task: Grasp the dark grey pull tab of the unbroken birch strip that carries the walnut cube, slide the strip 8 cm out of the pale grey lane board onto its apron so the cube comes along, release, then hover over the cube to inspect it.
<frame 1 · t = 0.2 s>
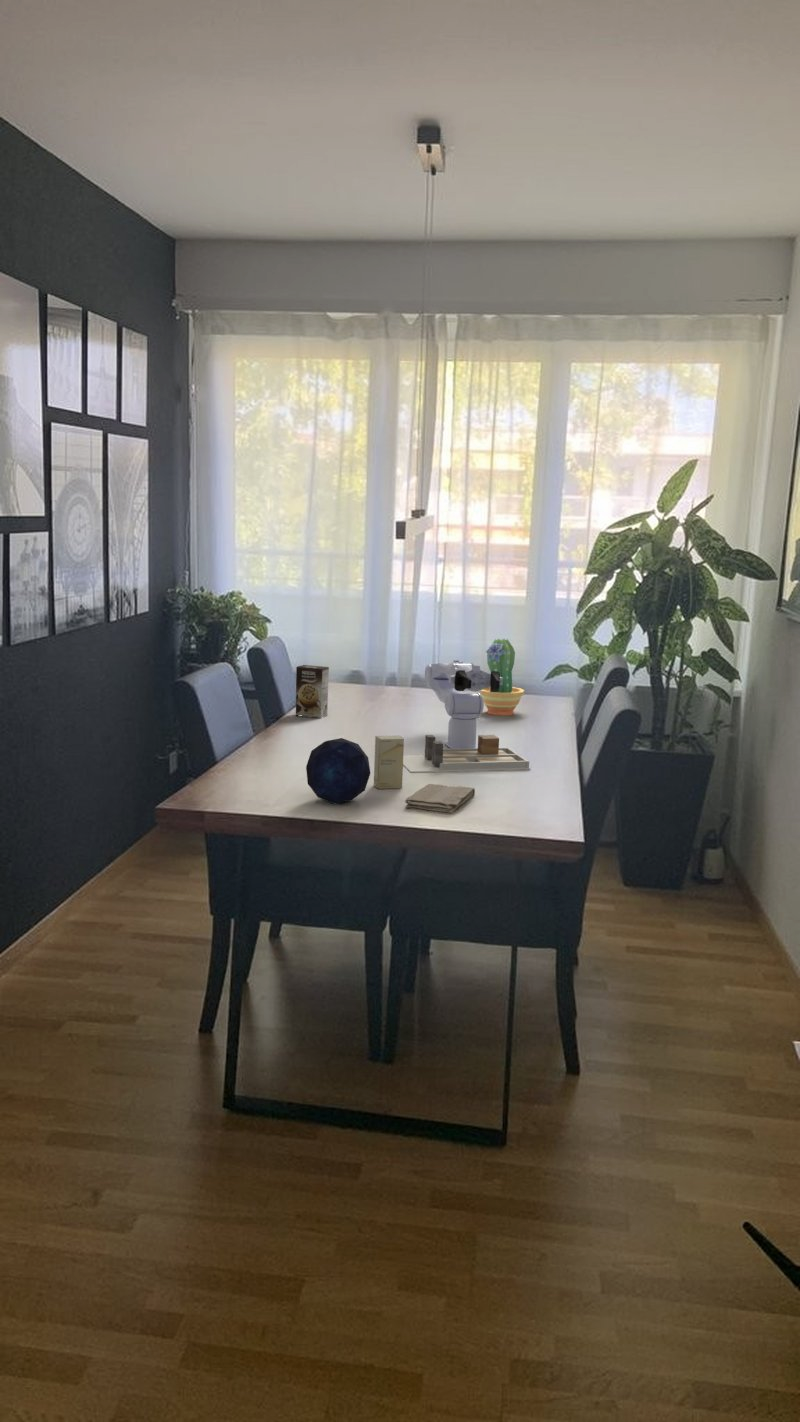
hand: (484, 684, 271), 21 cm above the table, fingers open, 7 cm apart
strip a: (466, 746, 279), point 4 cm above the table, slide at 0.0 cm, touching walnut cube
decorative orb: (337, 801, 235), on the table
coffee box: (311, 716, 335), on the table
walnut cube: (487, 753, 280), point 2 cm above the table, touching strip a
washcloth: (440, 805, 236), on the table
lane board: (474, 762, 276), on the table
potted cactus: (500, 713, 349), on the table
strip b broken: (478, 766, 272), resting on lane board
skincare box: (388, 787, 248), on the table
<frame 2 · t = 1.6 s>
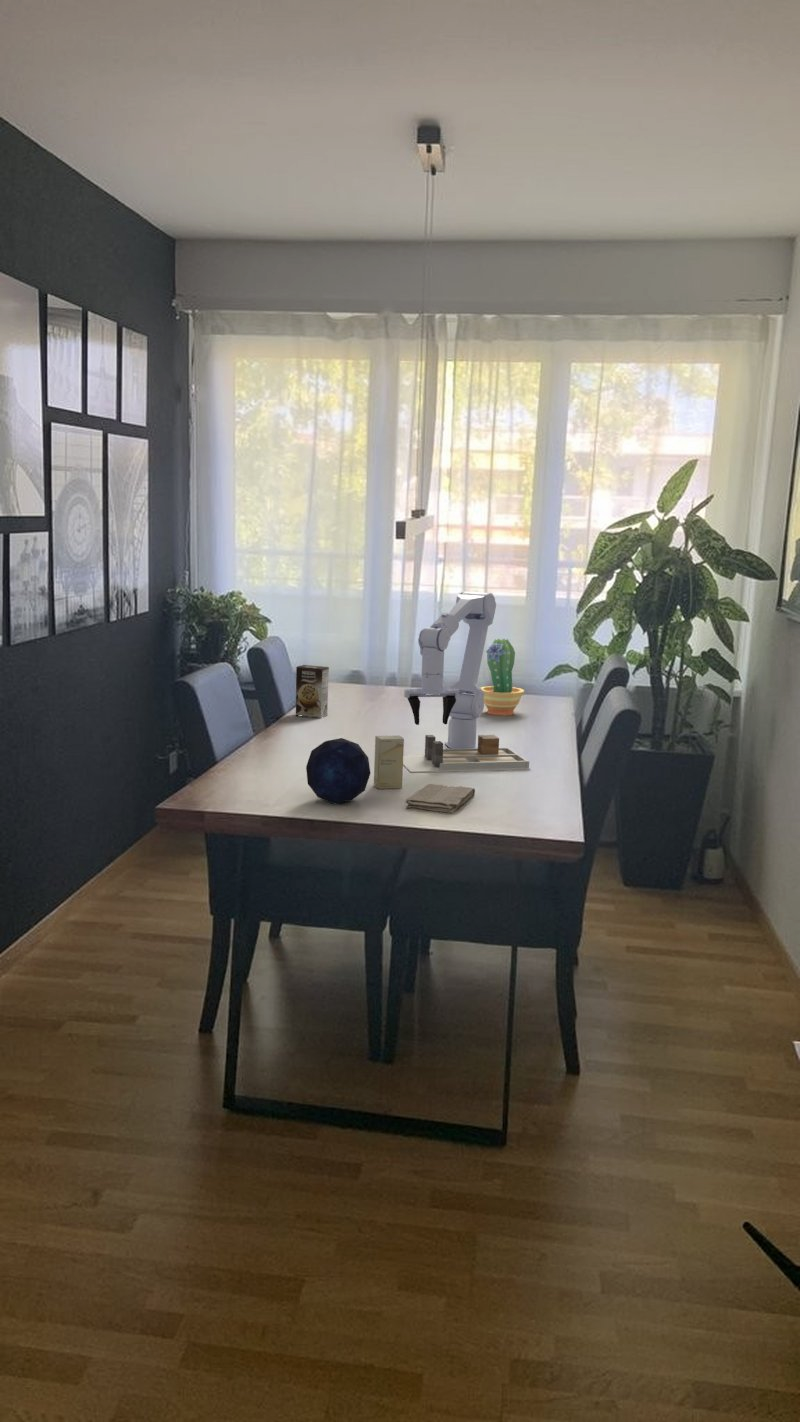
hand: (430, 723, 275), 10 cm above the table, fingers open, 7 cm apart
nothing on the table moved.
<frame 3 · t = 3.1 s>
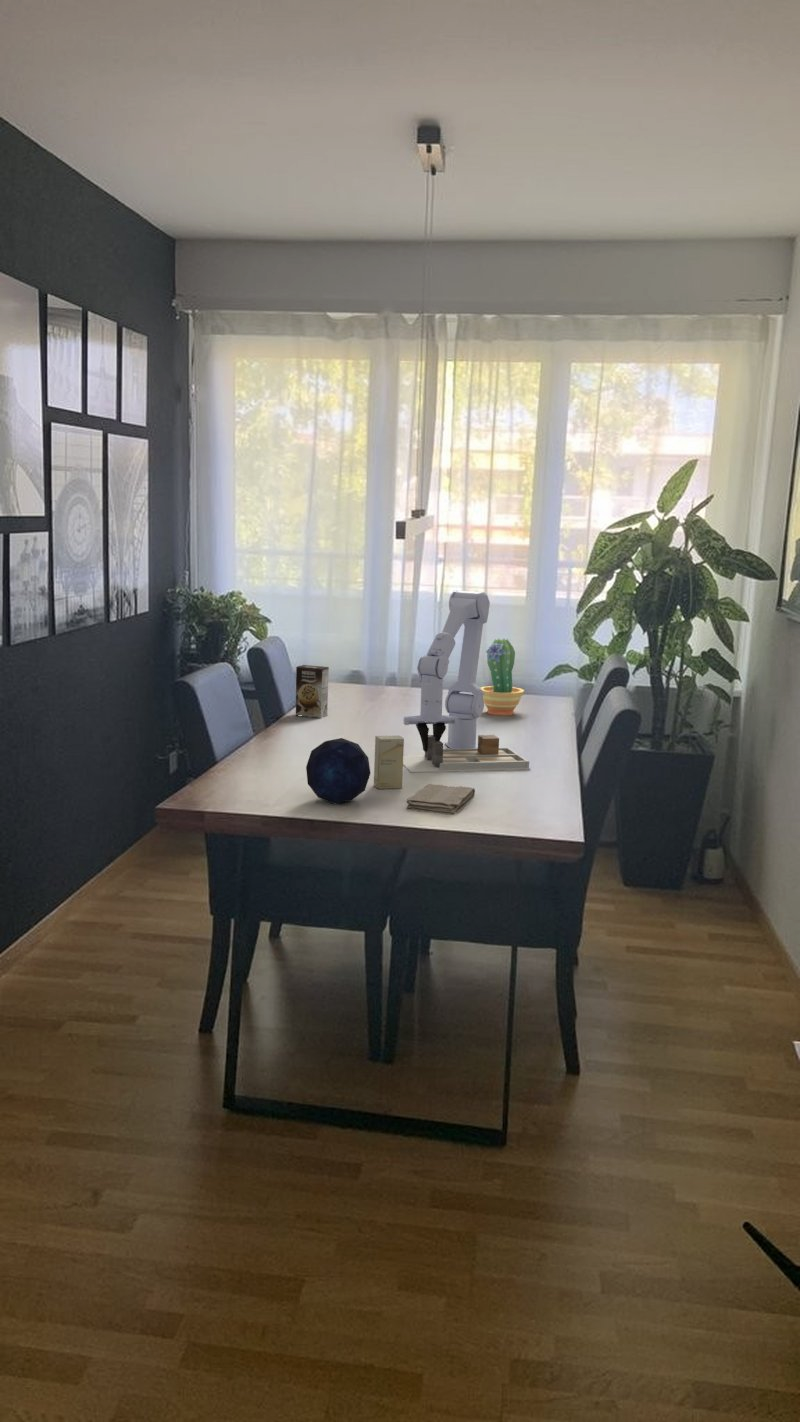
hand: (430, 750, 277), 3 cm above the table, fingers closed on strip a, 2 cm apart
strip a: (466, 746, 279), point 4 cm above the table, slide at 0.0 cm, touching gripper, walnut cube
everything else where it was.
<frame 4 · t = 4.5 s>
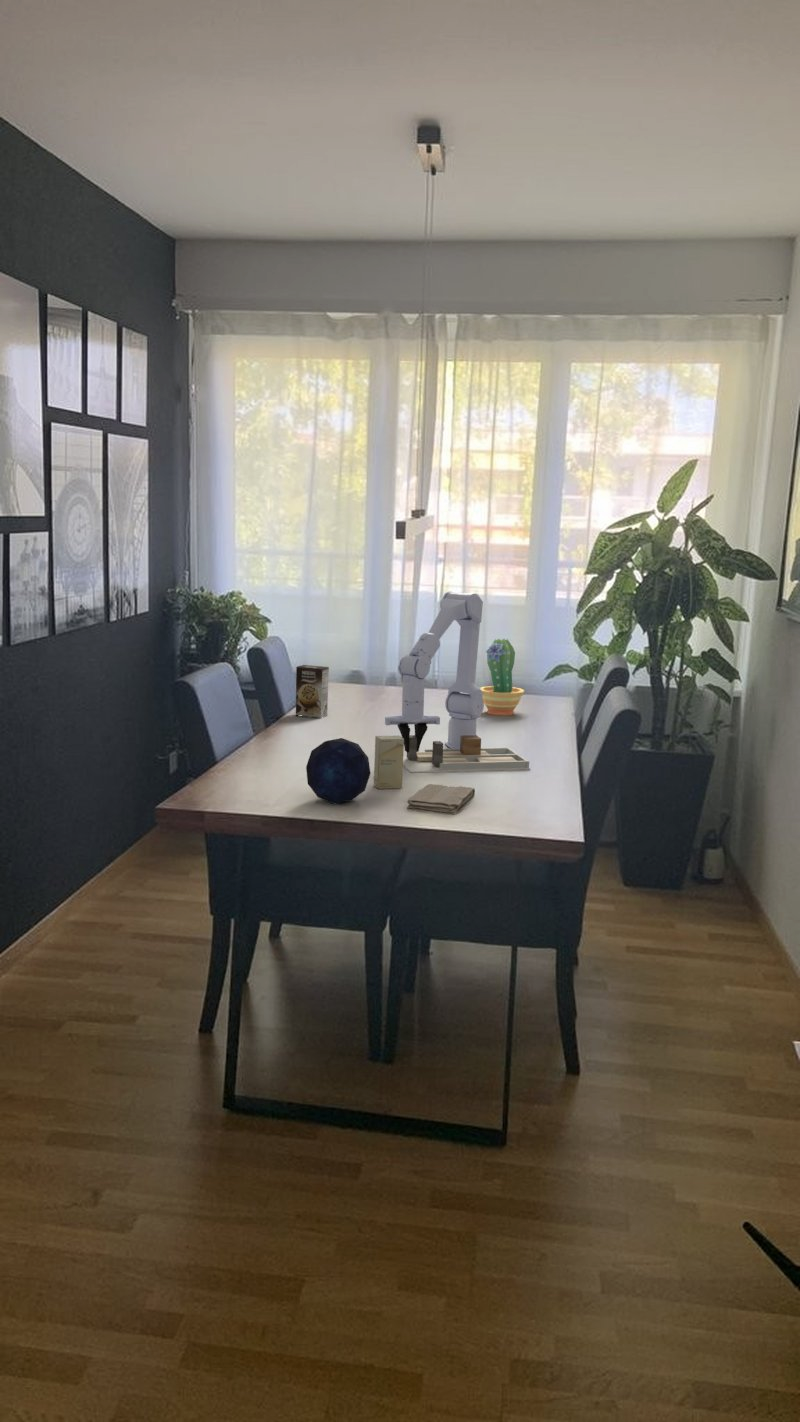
hand: (411, 751, 275), 3 cm above the table, fingers closed on strip a, 2 cm apart
strip a: (448, 746, 278), point 4 cm above the table, slide at 5.0 cm, touching gripper, walnut cube
walnut cube: (470, 753, 279), point 2 cm above the table, touching strip a
everything else where it was.
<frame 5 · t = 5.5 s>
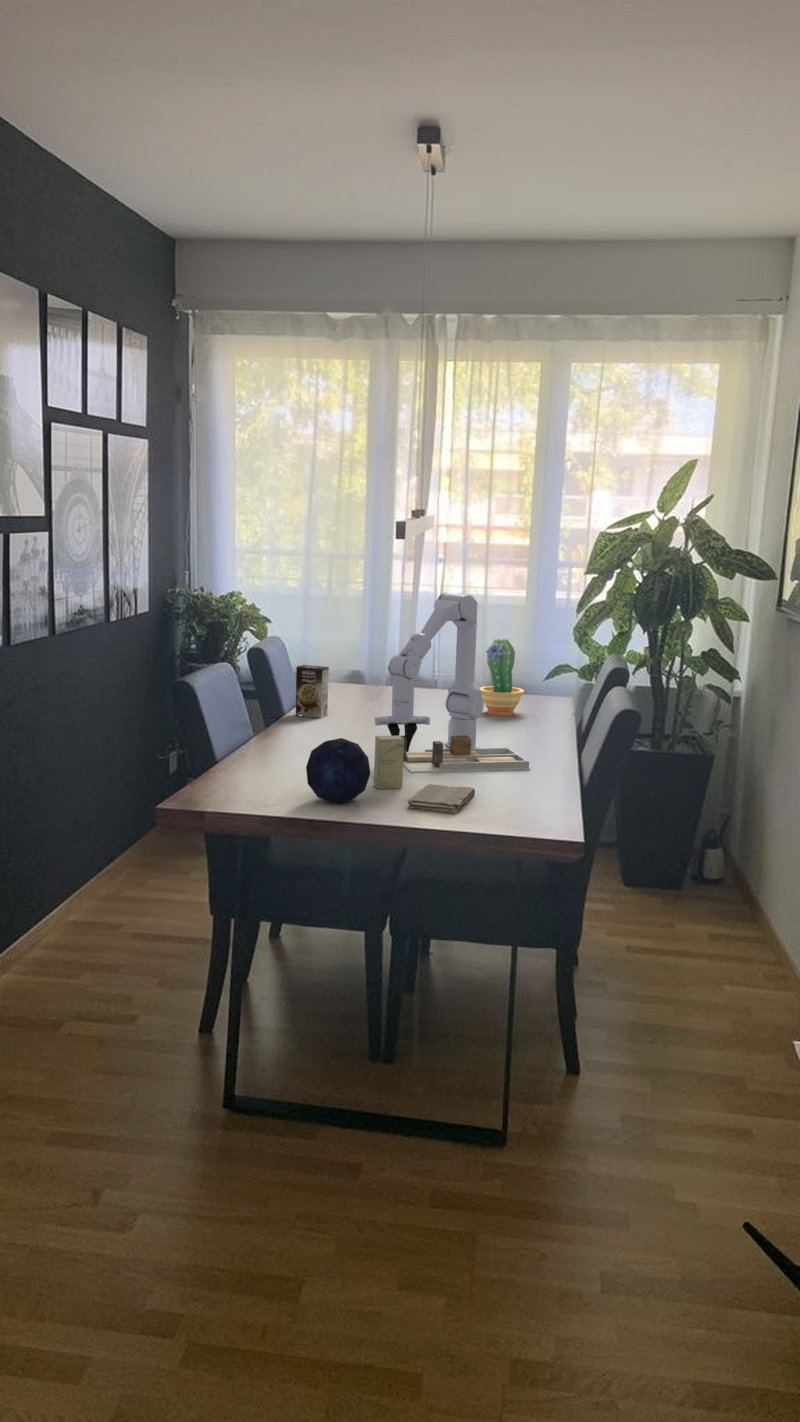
hand: (401, 751, 275), 3 cm above the table, fingers closed on strip a, 2 cm apart
strip a: (438, 746, 277), point 4 cm above the table, slide at 7.8 cm, touching gripper, walnut cube
walnut cube: (460, 753, 279), point 2 cm above the table, touching strip a
everything else where it was.
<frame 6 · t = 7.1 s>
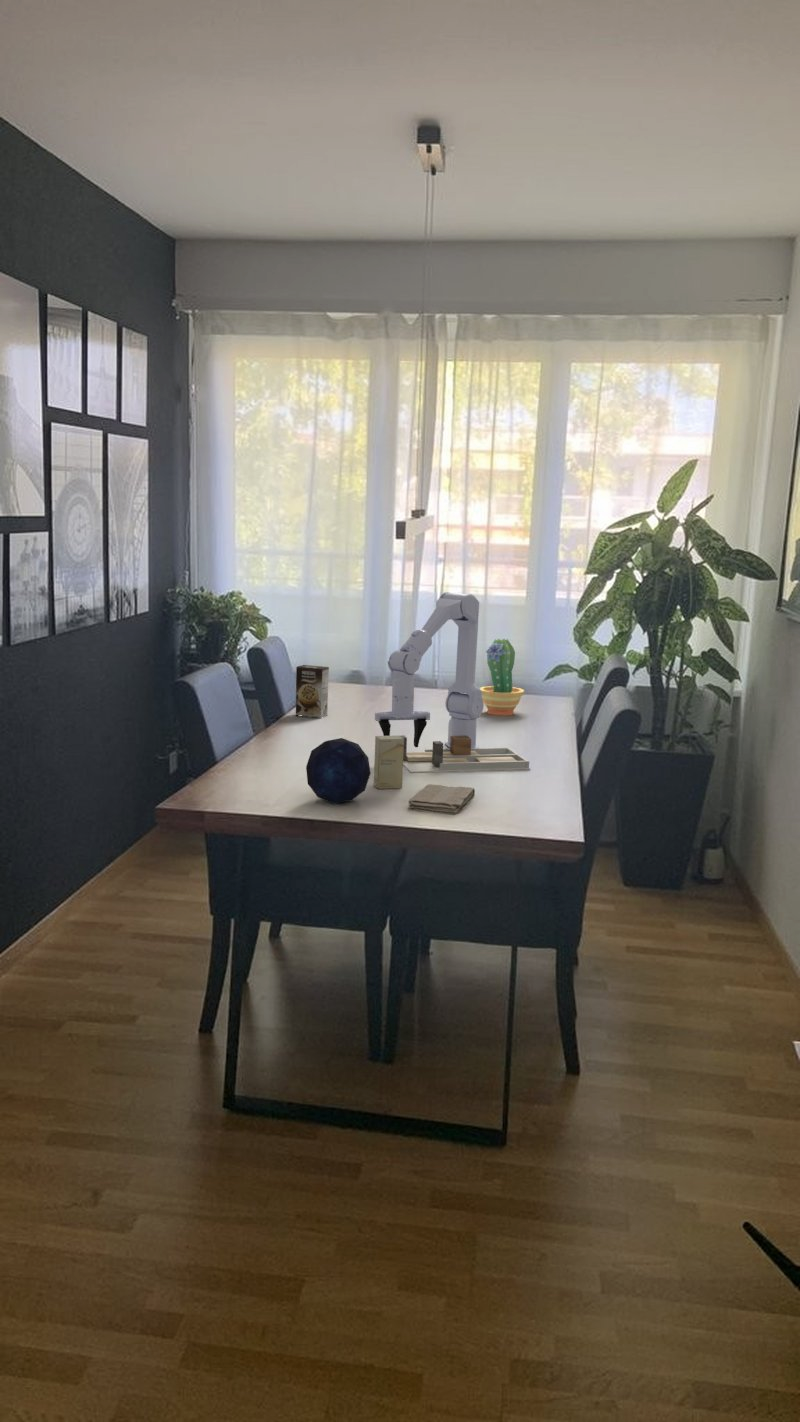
hand: (401, 746, 275), 4 cm above the table, fingers open, 7 cm apart
strip a: (438, 746, 277), point 4 cm above the table, slide at 7.8 cm, touching walnut cube
everything else where it was.
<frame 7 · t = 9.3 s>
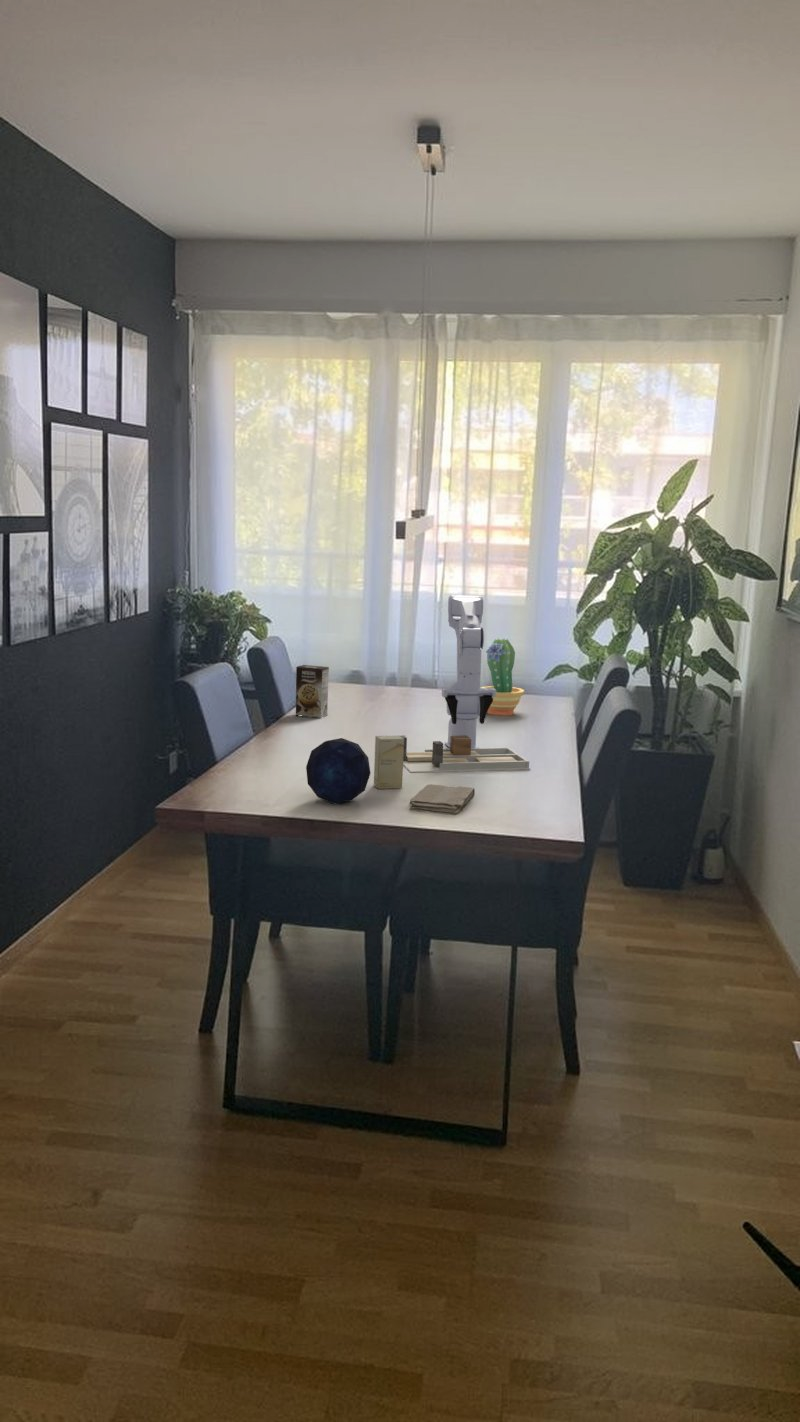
hand: (467, 723, 277), 10 cm above the table, fingers open, 7 cm apart
nothing on the table moved.
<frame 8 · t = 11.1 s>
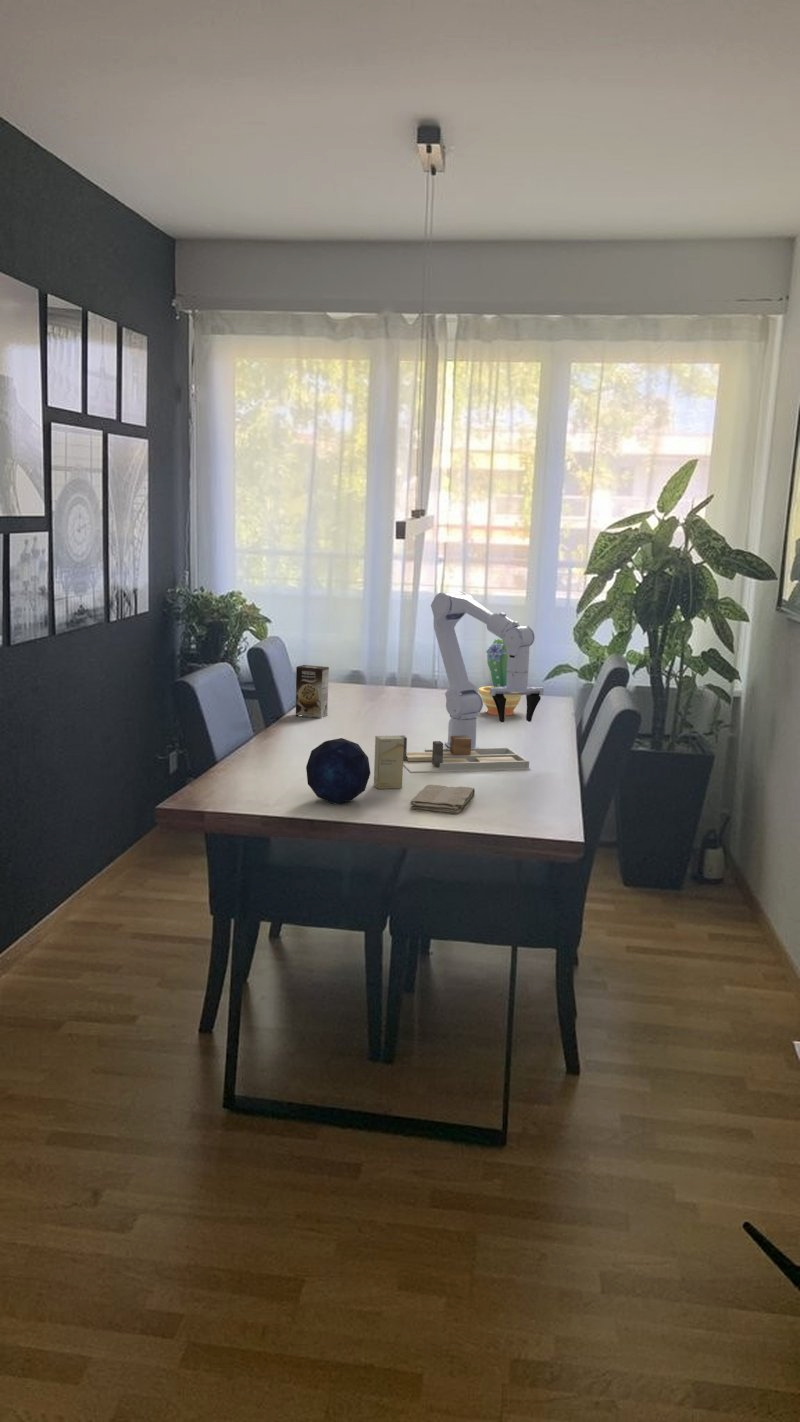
hand: (515, 721, 279), 10 cm above the table, fingers open, 7 cm apart
nothing on the table moved.
at the end: strip a slide at 7.8 cm; walnut cube inside the target area (0.2 cm from its centre), point 1.6 cm above the table; walnut cube tilted 0° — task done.
